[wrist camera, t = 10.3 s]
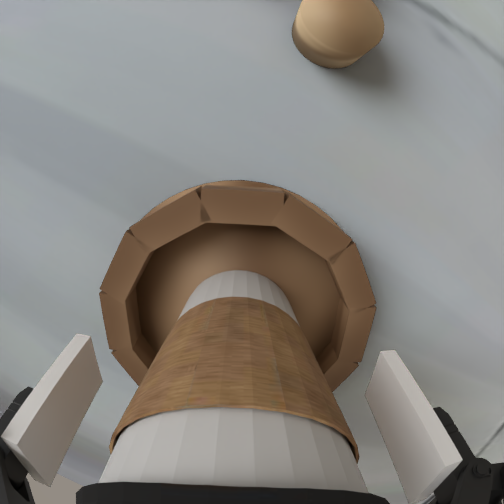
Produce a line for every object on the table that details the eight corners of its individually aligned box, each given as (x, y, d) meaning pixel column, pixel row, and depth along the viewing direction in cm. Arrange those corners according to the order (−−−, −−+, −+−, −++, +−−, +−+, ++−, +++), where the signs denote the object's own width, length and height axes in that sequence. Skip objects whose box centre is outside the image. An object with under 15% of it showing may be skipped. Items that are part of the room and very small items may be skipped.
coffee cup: (331, 343, 18) (414, 582, 3) (209, 388, 19) (185, 609, 4) (278, 219, 15) (421, 594, 1) (137, 284, 16) (-10, 537, 2)
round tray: (132, 390, 19) (123, 412, 17) (106, 178, 15) (86, 183, 13) (335, 400, 20) (342, 423, 18) (381, 193, 15) (401, 199, 13)
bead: (290, 63, 13) (300, 43, 10) (292, 3, 12) (300, -23, 9) (363, 74, 13) (385, 61, 11) (361, 16, 12) (381, -5, 9)
